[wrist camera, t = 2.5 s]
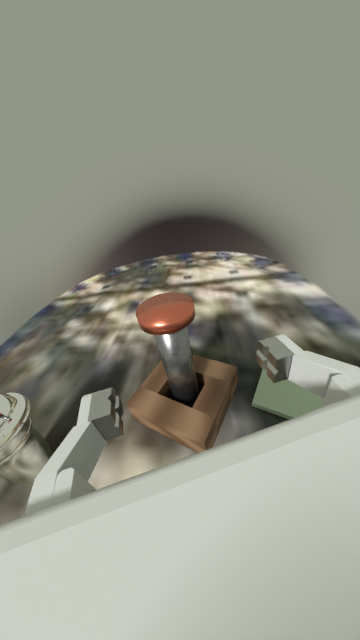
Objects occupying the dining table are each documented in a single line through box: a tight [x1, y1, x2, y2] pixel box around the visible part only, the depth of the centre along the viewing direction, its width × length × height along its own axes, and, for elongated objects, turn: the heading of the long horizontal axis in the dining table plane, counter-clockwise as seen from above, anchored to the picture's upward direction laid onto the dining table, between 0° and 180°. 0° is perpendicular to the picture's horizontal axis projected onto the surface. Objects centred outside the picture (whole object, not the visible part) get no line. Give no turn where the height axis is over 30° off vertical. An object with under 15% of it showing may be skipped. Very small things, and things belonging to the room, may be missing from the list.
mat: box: [252, 369, 324, 420], centre depth 31 cm, size 12×12×1 cm
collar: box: [127, 354, 238, 453], centre depth 31 cm, size 12×12×4 cm
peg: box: [136, 292, 199, 408], centre depth 28 cm, size 6×6×17 cm
